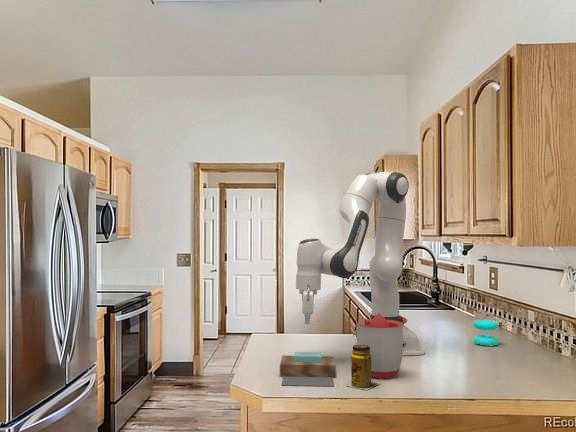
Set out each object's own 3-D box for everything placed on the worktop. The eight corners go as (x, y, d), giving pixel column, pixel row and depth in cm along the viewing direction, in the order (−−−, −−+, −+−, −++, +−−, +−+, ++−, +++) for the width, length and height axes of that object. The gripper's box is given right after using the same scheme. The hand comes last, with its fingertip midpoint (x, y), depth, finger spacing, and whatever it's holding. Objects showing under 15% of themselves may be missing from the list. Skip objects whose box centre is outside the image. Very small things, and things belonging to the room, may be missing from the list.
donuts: (468, 319, 213) (486, 318, 216) (468, 343, 212) (486, 341, 216) (484, 323, 203) (503, 322, 207) (485, 347, 203) (504, 346, 206)
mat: (332, 378, 157) (332, 377, 157) (334, 386, 148) (334, 385, 148) (283, 377, 158) (283, 376, 158) (281, 385, 149) (281, 384, 149)
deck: (334, 368, 169) (334, 356, 170) (335, 377, 157) (335, 365, 158) (282, 367, 170) (282, 355, 170) (280, 376, 158) (280, 364, 158)
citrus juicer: (366, 364, 174) (366, 308, 175) (411, 373, 163) (411, 313, 164) (342, 373, 162) (342, 313, 163) (389, 384, 151) (389, 318, 152)
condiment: (345, 386, 149) (345, 346, 150) (360, 379, 156) (360, 341, 156) (366, 390, 145) (366, 349, 145) (380, 384, 151) (380, 345, 152)
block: (321, 358, 167) (321, 352, 167) (321, 362, 161) (321, 356, 161) (294, 357, 167) (294, 351, 167) (294, 362, 161) (294, 356, 161)
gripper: (317, 287, 163) (316, 329, 163) (316, 282, 184) (315, 319, 183) (299, 286, 164) (297, 328, 163) (299, 281, 184) (298, 318, 183)
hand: (307, 323), depth 173 cm, fingers closed
